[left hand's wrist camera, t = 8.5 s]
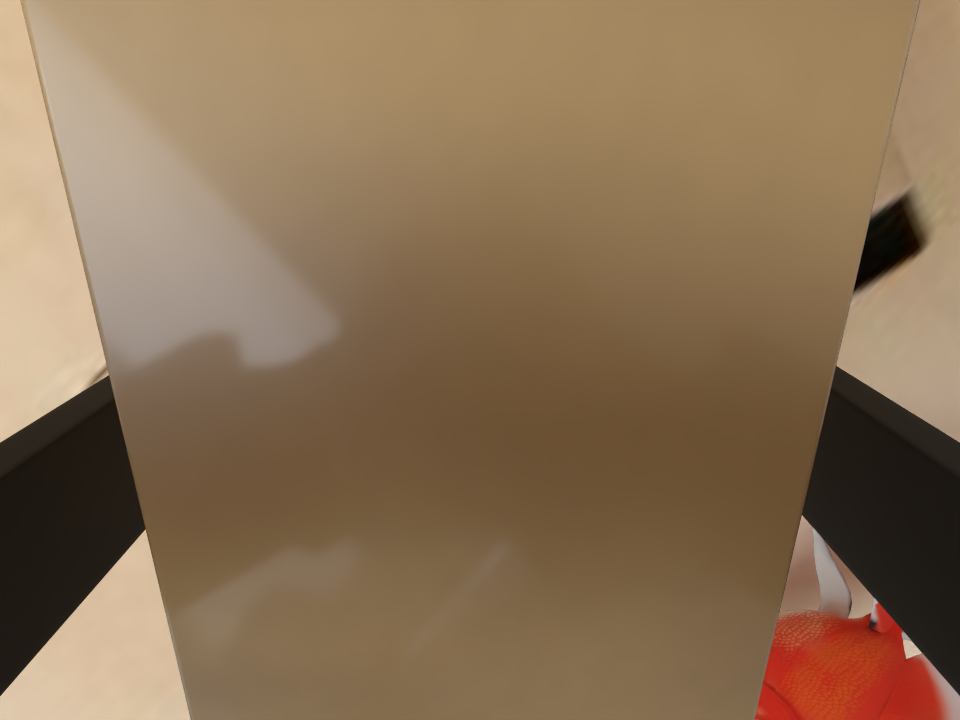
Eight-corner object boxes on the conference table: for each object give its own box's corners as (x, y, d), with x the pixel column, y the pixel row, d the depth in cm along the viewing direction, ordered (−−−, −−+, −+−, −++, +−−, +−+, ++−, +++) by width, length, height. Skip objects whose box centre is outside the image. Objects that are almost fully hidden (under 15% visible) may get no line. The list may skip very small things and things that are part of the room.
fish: (617, 595, 23) (890, 858, 15) (862, 354, 26) (1183, 467, 19) (667, 693, 29) (876, 913, 21) (858, 489, 33) (1095, 615, 25)
